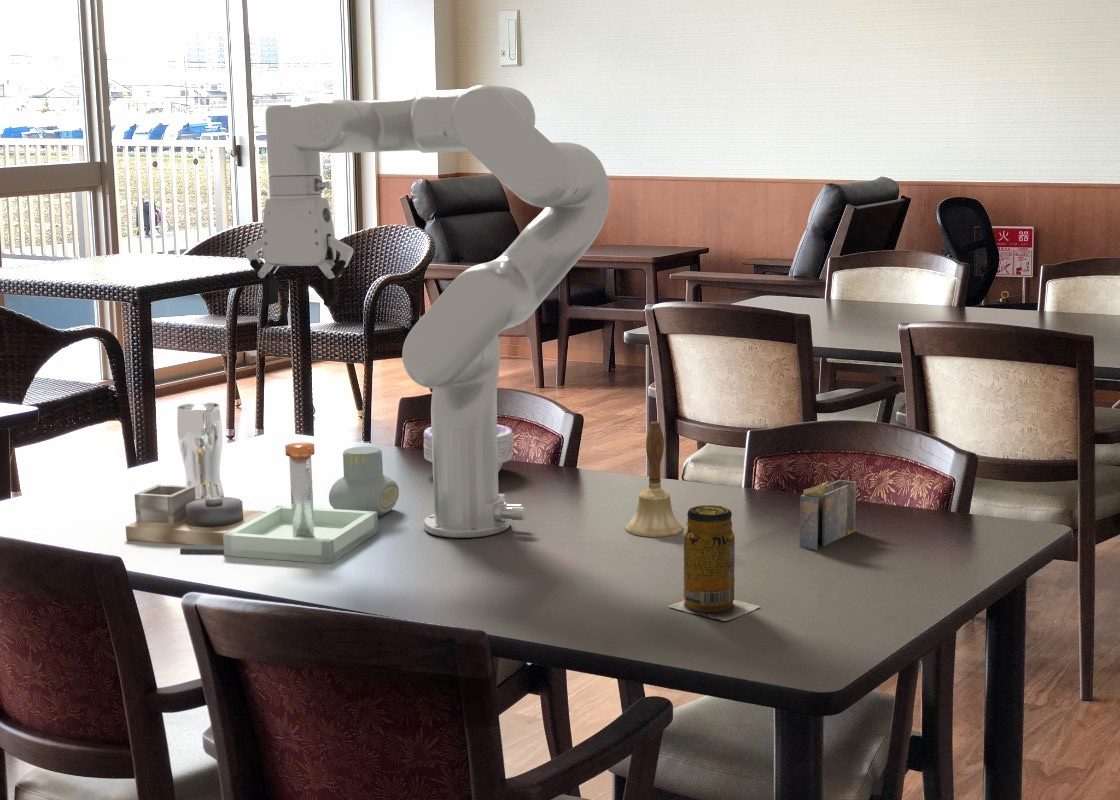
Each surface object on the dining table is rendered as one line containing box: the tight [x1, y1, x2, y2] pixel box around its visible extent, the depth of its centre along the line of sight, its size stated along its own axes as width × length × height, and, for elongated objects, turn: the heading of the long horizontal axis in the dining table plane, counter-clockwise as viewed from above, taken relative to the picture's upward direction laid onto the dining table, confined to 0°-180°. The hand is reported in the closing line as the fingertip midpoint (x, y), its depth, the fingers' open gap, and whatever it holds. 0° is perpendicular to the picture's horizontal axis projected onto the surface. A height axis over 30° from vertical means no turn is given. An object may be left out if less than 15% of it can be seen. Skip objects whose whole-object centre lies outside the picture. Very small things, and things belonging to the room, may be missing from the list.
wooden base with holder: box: [125, 484, 267, 545], centre depth 198 cm, size 16×12×6 cm
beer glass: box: [176, 401, 225, 500], centre depth 218 cm, size 7×7×15 cm
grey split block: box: [799, 479, 857, 551], centre depth 189 cm, size 11×3×10 cm, turn 141°
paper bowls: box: [423, 423, 514, 473], centre depth 231 cm, size 15×15×8 cm
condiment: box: [667, 504, 761, 622], centre depth 161 cm, size 7×8×12 cm
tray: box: [223, 505, 379, 564], centre depth 191 cm, size 16×16×3 cm
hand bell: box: [625, 420, 684, 538], centre depth 195 cm, size 8×8×16 cm
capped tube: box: [284, 442, 315, 538], centre depth 190 cm, size 4×4×13 cm
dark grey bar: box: [179, 544, 224, 555], centre depth 188 cm, size 14×2×1 cm, turn 84°
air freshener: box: [328, 446, 400, 518], centre depth 206 cm, size 11×8×10 cm
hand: (301, 304), depth 202 cm, fingers open, 9 cm apart
